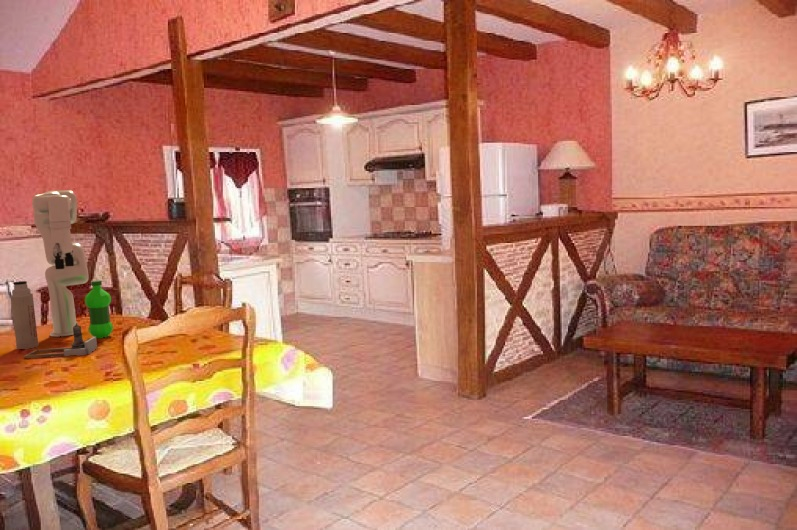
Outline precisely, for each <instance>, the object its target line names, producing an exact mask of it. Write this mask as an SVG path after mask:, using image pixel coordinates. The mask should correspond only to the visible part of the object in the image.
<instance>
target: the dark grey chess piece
mask: <svg viewBox="0 0 797 530" xmlns="http://www.w3.org/2000/svg"><path fill="white" fill-rule="evenodd" d="M73 332H74V334H73V335H72V336H73V343H71V344H70V346H71V347H72V348H73V349H79V348H85V345H84V342H85V341H84V339H83V333H82V326H81V325H79V324H78V325H77V323H76V325H75V326H74V327H73Z"/></svg>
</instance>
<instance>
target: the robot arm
mask: <svg viewBox="0 0 797 530" xmlns="http://www.w3.org/2000/svg"><path fill="white" fill-rule="evenodd" d="M31 200H32V201H31V206H32V210H33V211H34V212H33V221H34V224H35V227H36V229H37V231H38V232H39V234H40V236H41V237H42V241H43V246H44V253H45V258H46V262H47V263H48V264H49V265H52V266H49V267H47V268H46V269H45V272H44V276H45V277H44V278H45V280H46V281H45V282H46V284H47V289H48V295H49V301H50V311H51V320H52V327H53V328H52V330H53V331H51V332H50V333H49V336H50V337H52V338H53V337H58V338H59V337H60V336H61V337H68V336H73V334H74V332H73V327H74V326H75V325H76V323H77V325H79V323H78V321H77V318H76V310H75V309H76V308H75V301H74V294H73V292H72V291H71V290H70V289H68V288H67V286H75V285H77V286H78V285H82V284H86V283H87V282H88V281H89V270H88V263H87V258H86V254H85V250H84V247H83V245H82V244H80V243H77V242H73V241H72V239H73V238H72V233H71V230H72V225H73V224H75V223H76V221H77V219H78V218H77V216H78V215H77V213H78V199H77V195H76V193H74V192H73V191H72V190H68V189H67V190H65V189H64V190H48V191H45V192H44V193H41V194H36V195H33V196H32V199H31Z"/></svg>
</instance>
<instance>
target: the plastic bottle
mask: <svg viewBox="0 0 797 530" xmlns="http://www.w3.org/2000/svg"><path fill="white" fill-rule="evenodd" d="M102 285H103V283H102V280H100V279H97V280H91V281H90V286H91V287H92V289H91V290H90V291H89V292H88V293H87V294H86V295H85V297H84V304H85V306H86V307H87V308H88V313H89V314H88V315H89V322H90V324H89V326H88V332H89V334H90V336H92V337H96V339H104V338H103V337H105V338H108V337H109V336H110V335H111V334H112V332H113V330H114V325H113V323H112V322H111V317H110V316H111V315H110V310H109V309H110V308H109V307H110V304H111V303H112V296H111V294H110V292H107V291H106V290H104V289H103V288H102ZM107 336H108V337H107Z"/></svg>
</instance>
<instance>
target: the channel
mask: <svg viewBox="0 0 797 530" xmlns="http://www.w3.org/2000/svg"><path fill="white" fill-rule="evenodd" d="M65 349H73V348H72V346H71V347H59V348H57V347H56V348H41V349H34V350H33V351H30V352H28V353H27V354H25V355H23V359H24V360H26V359H25V358H31V359H42V358H41V357H46V358H52V357H51V356H61V357H65V356H64V350H65ZM50 351H61V352H52V353H51V352H50ZM37 352H46V353H37ZM34 354H35V355H34ZM39 357H40V358H39Z"/></svg>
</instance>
